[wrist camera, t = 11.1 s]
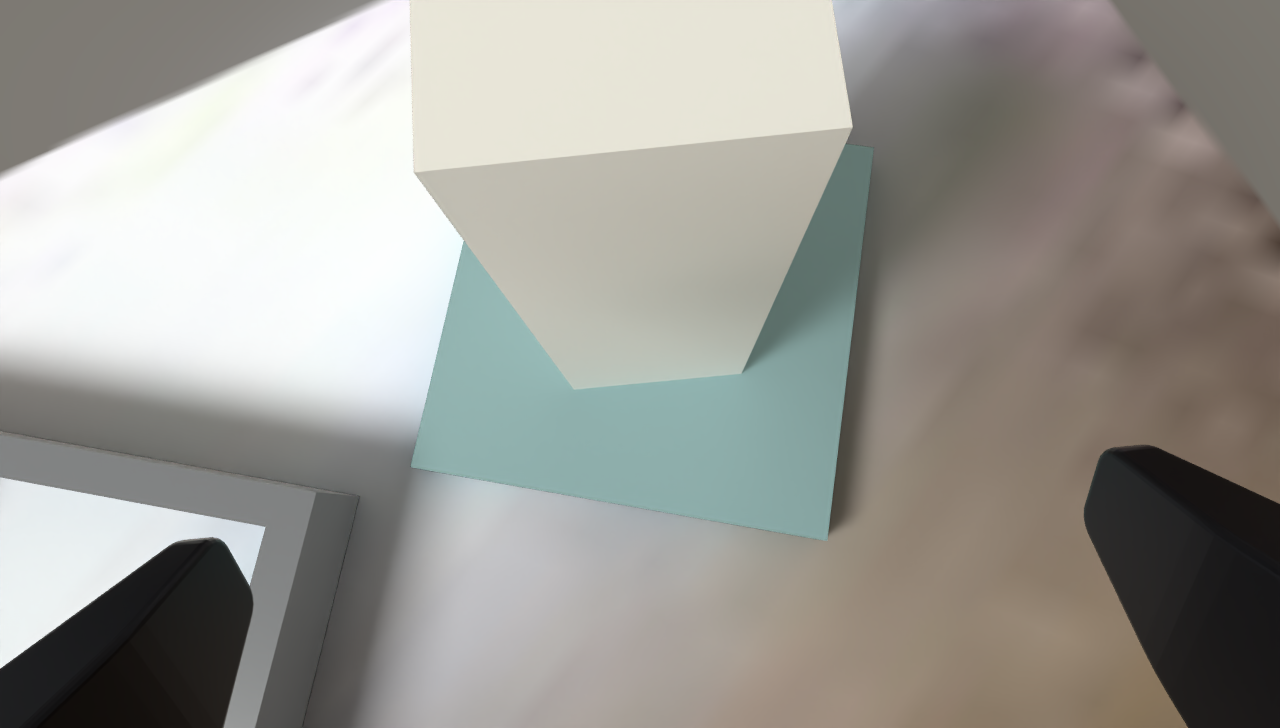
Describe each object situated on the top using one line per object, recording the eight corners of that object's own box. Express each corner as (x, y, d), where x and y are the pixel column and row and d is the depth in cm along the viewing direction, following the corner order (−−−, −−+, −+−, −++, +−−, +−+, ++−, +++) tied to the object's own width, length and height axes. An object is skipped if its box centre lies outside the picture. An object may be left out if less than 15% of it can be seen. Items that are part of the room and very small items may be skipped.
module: (741, 373, 20) (852, 126, 7) (574, 389, 20) (414, 172, 8) (722, 216, 21) (793, -228, 8) (562, 232, 21) (405, -184, 9)
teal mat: (866, 161, 22) (874, 147, 21) (820, 540, 19) (827, 540, 19) (503, 111, 23) (497, 97, 22) (420, 469, 20) (410, 467, 20)
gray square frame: (359, 495, 20) (316, 492, 18) (224, 1040, 18) (151, 1124, 15) (-102, 412, 21) (-203, 397, 19) (-295, 913, 19) (-440, 971, 16)
